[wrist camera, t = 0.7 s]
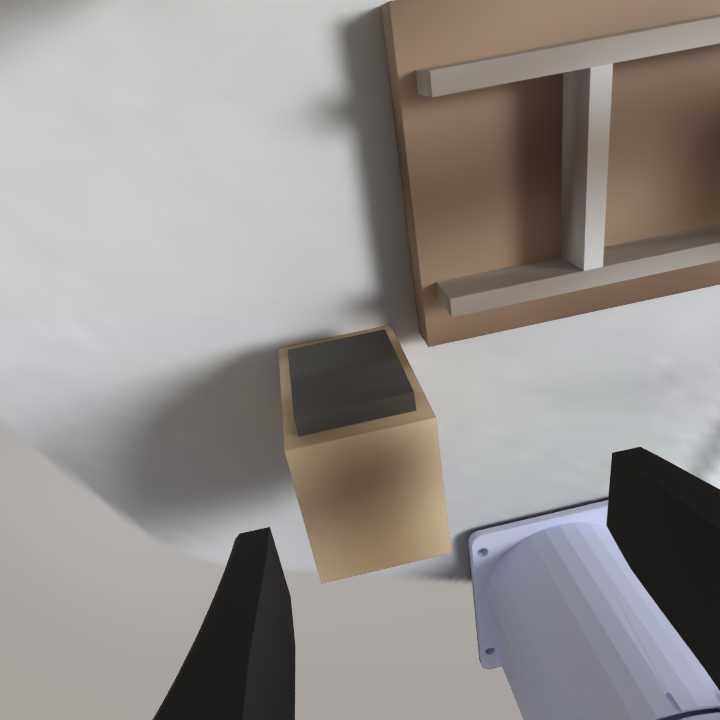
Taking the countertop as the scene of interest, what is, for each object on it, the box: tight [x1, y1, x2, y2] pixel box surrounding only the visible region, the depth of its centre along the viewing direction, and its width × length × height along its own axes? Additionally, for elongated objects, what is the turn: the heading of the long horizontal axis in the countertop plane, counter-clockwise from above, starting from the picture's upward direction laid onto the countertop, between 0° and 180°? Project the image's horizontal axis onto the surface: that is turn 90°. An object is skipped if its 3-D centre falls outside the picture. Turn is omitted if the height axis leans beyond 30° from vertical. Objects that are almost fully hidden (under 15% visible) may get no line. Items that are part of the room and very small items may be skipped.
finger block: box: [278, 325, 451, 584], centre depth 18 cm, size 4×6×6 cm
